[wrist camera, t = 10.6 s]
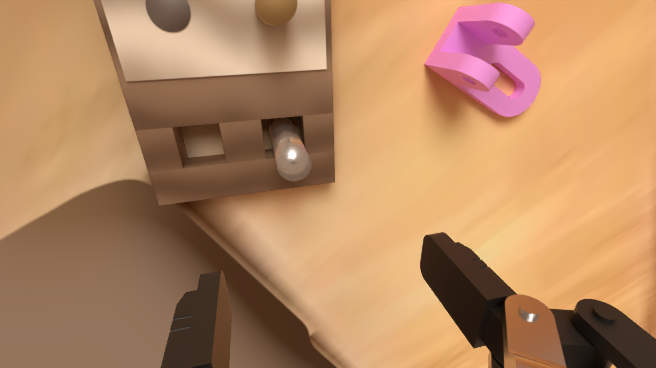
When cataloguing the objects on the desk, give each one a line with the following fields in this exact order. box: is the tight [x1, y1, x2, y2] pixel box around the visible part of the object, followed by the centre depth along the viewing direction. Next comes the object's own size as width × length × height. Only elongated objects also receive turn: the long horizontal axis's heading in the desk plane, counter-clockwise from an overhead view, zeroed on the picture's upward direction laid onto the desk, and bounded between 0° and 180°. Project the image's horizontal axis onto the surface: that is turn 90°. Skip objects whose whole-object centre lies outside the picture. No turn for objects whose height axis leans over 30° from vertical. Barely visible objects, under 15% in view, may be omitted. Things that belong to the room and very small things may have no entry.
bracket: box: [424, 3, 541, 117], centre depth 29 cm, size 13×6×7 cm, turn 60°
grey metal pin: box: [269, 118, 312, 181], centre depth 26 cm, size 2×2×9 cm
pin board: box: [94, 0, 335, 205], centre depth 23 cm, size 20×16×8 cm
